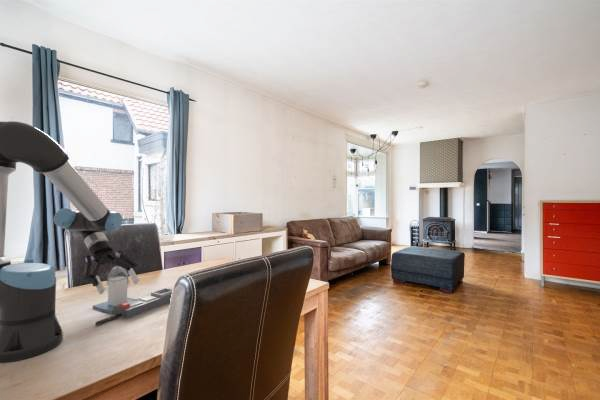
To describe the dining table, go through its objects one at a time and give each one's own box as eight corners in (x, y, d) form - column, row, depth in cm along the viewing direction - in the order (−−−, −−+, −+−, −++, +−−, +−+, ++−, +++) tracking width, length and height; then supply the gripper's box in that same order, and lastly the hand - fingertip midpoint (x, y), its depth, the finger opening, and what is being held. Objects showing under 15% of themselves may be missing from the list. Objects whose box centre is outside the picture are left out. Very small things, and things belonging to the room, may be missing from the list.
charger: (114, 306, 111) (114, 280, 111) (108, 304, 112) (108, 279, 112) (127, 302, 115) (127, 277, 115) (120, 300, 117) (121, 275, 117)
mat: (111, 314, 106) (111, 311, 106) (92, 308, 111) (92, 305, 111) (142, 303, 117) (142, 301, 117) (123, 298, 122) (123, 296, 122)
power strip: (103, 327, 95) (103, 315, 95) (89, 323, 98) (89, 310, 98) (181, 297, 124) (181, 288, 123) (168, 295, 127) (168, 285, 127)
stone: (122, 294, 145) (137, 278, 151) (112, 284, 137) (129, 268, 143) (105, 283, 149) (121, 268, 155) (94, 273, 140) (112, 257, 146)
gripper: (124, 247, 132) (145, 284, 126) (59, 256, 110) (81, 302, 103) (131, 236, 130) (153, 273, 124) (67, 244, 108) (90, 290, 101)
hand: (120, 286), depth 113 cm, fingers open, 13 cm apart
